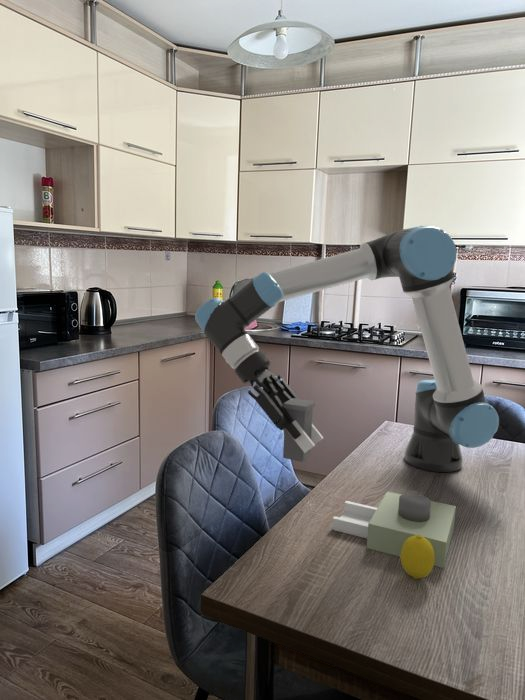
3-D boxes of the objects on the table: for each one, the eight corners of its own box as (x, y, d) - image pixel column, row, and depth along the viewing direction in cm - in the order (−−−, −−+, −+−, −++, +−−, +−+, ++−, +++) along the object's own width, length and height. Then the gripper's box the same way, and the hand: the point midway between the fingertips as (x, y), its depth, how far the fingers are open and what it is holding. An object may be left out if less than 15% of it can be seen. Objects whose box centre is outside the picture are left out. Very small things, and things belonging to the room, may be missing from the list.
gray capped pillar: (281, 457, 111) (283, 403, 109) (290, 450, 115) (292, 398, 113) (303, 462, 109) (306, 406, 107) (312, 455, 113) (315, 401, 111)
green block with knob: (326, 537, 103) (328, 499, 101) (349, 505, 117) (352, 471, 116) (443, 568, 93) (447, 526, 92) (453, 528, 107) (457, 492, 106)
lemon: (434, 590, 87) (438, 545, 85) (399, 585, 88) (403, 541, 86) (430, 571, 92) (434, 529, 91) (398, 567, 93) (401, 525, 92)
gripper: (254, 364, 124) (316, 443, 119) (215, 377, 108) (285, 468, 104) (275, 344, 121) (339, 424, 116) (238, 355, 105) (312, 448, 101)
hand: (314, 445), depth 110 cm, fingers closed on gray capped pillar, 4 cm apart
